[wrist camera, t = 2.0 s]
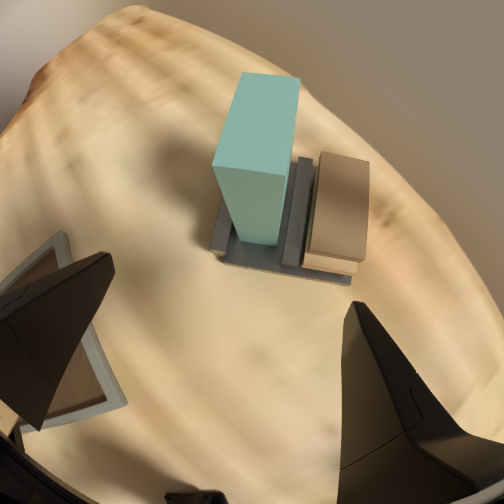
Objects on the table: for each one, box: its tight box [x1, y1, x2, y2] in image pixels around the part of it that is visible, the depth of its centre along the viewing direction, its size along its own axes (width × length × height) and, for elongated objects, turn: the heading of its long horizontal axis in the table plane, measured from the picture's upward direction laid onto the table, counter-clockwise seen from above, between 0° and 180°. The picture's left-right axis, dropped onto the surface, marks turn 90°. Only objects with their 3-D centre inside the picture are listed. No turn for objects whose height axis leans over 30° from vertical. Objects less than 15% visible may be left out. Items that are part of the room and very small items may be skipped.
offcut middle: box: [302, 167, 358, 276], centre depth 20 cm, size 8×4×1 cm, turn 169°
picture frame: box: [0, 231, 128, 433], centre depth 22 cm, size 19×2×30 cm
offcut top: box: [308, 151, 369, 263], centre depth 19 cm, size 8×4×1 cm, turn 169°
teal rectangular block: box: [212, 72, 301, 247], centre depth 17 cm, size 6×3×12 cm, turn 169°
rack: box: [210, 157, 352, 286], centre depth 22 cm, size 10×11×3 cm
